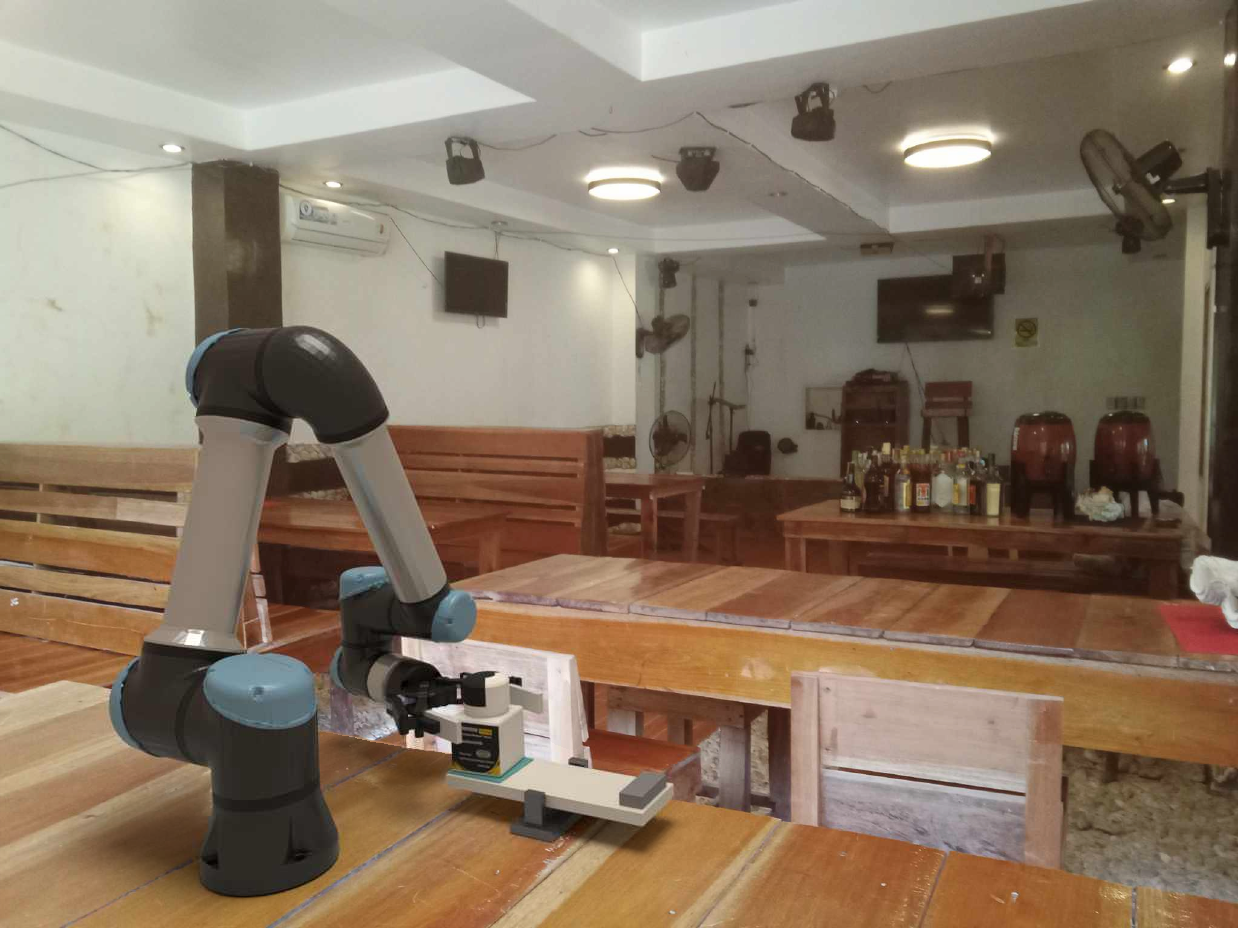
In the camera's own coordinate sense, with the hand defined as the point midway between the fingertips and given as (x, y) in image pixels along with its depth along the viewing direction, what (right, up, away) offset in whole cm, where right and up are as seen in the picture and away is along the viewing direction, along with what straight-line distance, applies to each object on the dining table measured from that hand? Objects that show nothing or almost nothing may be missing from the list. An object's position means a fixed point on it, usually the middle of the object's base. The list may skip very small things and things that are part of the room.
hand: (501, 717), depth 122 cm
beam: (+7, -9, -2) cm, 12 cm away
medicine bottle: (-2, -7, +2) cm, 8 cm away
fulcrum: (+7, -12, -2) cm, 14 cm away
